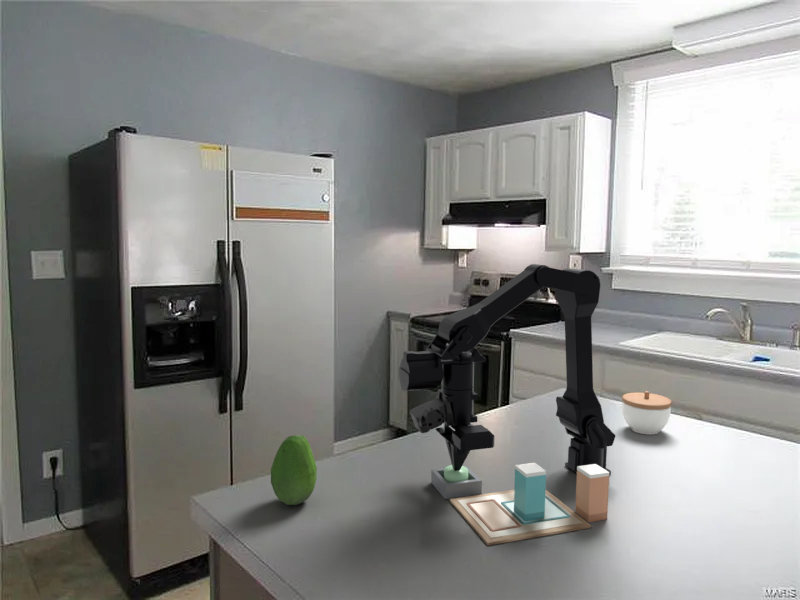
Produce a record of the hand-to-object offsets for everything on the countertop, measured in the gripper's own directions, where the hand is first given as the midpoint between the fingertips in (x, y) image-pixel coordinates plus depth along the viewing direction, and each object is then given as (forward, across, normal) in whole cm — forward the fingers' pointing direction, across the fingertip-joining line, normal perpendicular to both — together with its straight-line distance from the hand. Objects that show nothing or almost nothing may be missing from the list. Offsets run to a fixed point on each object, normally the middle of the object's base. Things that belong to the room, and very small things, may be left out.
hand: (456, 469), depth 106 cm
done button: (+3, 0, 0) cm, 3 cm away
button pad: (+4, 0, 0) cm, 4 cm away
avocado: (+4, -3, -29) cm, 29 cm away
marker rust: (+4, +16, +18) cm, 24 cm away
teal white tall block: (+3, +14, +7) cm, 16 cm away
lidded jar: (+4, -16, +55) cm, 57 cm away
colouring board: (+4, +12, +6) cm, 14 cm away
